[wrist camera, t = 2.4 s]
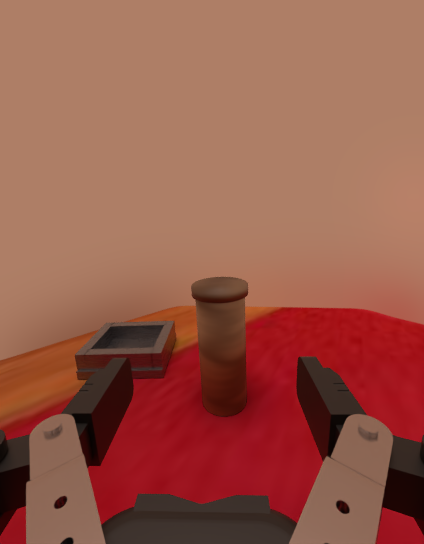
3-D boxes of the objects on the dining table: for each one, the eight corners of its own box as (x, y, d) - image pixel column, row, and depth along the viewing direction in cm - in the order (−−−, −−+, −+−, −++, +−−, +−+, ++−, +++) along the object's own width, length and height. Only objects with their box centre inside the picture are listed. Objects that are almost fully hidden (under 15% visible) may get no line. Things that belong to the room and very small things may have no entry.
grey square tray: (176, 338, 38) (174, 320, 38) (163, 377, 30) (160, 354, 29) (110, 340, 39) (107, 322, 38) (77, 379, 30) (73, 356, 30)
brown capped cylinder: (247, 382, 28) (245, 276, 25) (252, 418, 24) (250, 292, 21) (201, 383, 29) (194, 277, 26) (197, 419, 24) (187, 294, 21)
